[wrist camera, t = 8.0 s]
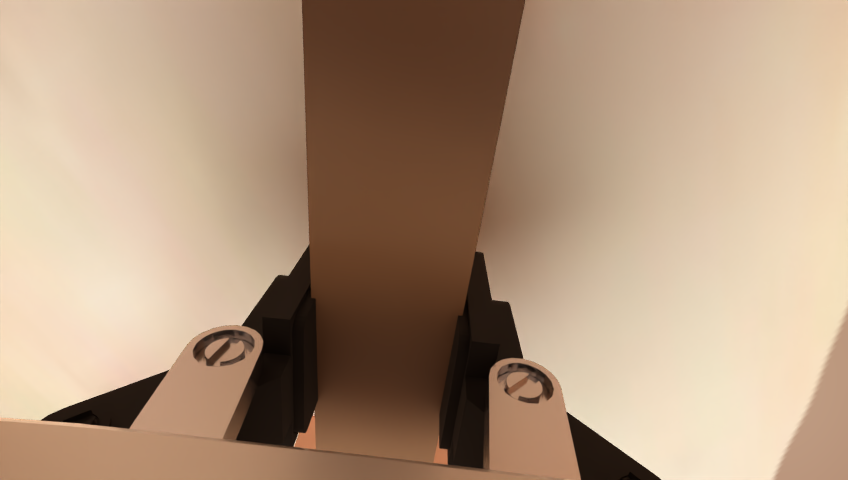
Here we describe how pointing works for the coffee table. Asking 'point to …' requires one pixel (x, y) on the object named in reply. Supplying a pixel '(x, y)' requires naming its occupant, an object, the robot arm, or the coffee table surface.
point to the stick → (396, 203)
